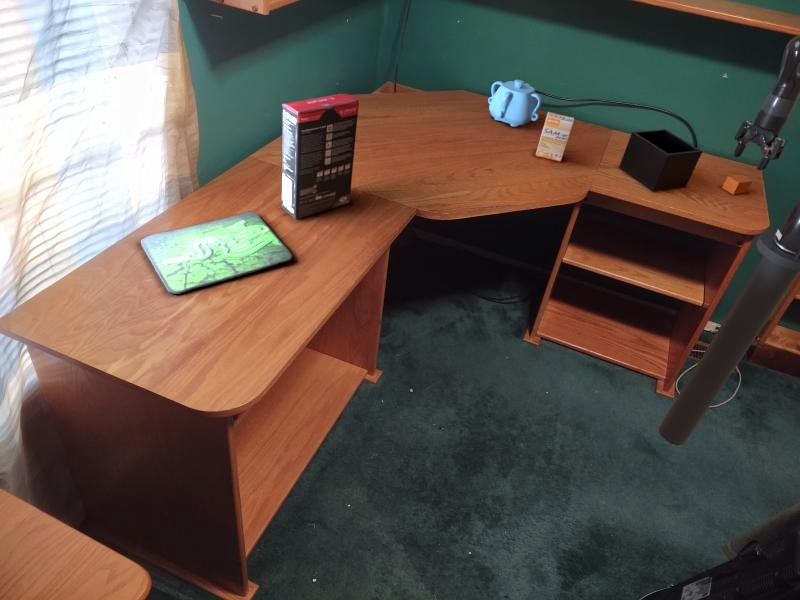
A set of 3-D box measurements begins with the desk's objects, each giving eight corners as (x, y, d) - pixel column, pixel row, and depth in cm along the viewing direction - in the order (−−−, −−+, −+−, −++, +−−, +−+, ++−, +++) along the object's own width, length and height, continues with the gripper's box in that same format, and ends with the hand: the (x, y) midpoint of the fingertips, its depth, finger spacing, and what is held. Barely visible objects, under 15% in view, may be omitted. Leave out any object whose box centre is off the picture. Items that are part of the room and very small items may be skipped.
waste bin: (686, 186, 182) (702, 151, 175) (652, 191, 177) (668, 155, 170) (651, 163, 193) (665, 128, 185) (618, 167, 188) (632, 132, 180)
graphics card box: (336, 192, 156) (342, 89, 139) (353, 204, 152) (360, 99, 135) (280, 209, 146) (279, 101, 129) (296, 222, 143) (297, 113, 125)
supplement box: (534, 156, 187) (546, 116, 179) (536, 150, 191) (547, 110, 182) (561, 162, 186) (573, 122, 177) (562, 156, 189) (574, 116, 181)
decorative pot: (490, 126, 201) (499, 87, 193) (484, 108, 214) (492, 70, 205) (537, 131, 203) (547, 92, 194) (528, 113, 215) (538, 75, 206)
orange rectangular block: (746, 192, 184) (752, 180, 181) (732, 194, 182) (739, 182, 179) (735, 185, 187) (741, 174, 184) (721, 187, 185) (727, 176, 182)
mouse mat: (170, 297, 117) (170, 293, 116) (137, 240, 130) (136, 236, 129) (296, 261, 131) (296, 257, 130) (254, 213, 144) (254, 209, 143)
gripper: (805, 120, 165) (775, 173, 175) (764, 100, 175) (738, 151, 185) (787, 122, 162) (758, 175, 172) (746, 101, 172) (720, 153, 182)
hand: (747, 162), depth 179 cm, fingers open, 8 cm apart
